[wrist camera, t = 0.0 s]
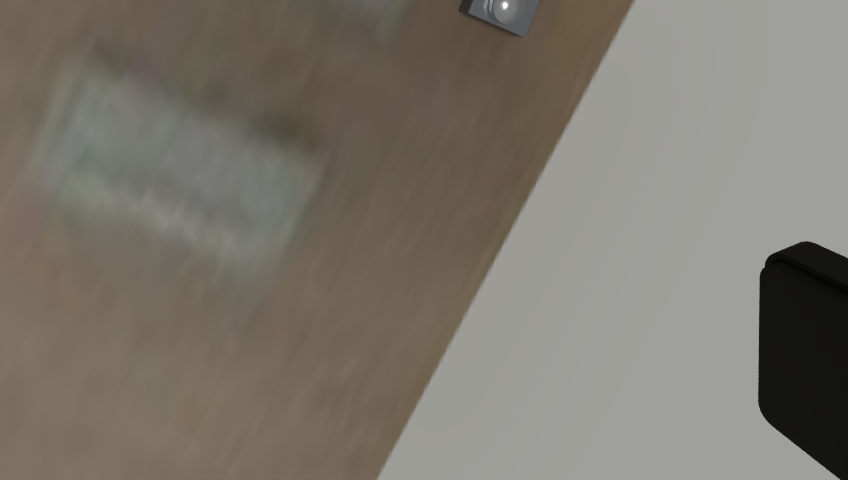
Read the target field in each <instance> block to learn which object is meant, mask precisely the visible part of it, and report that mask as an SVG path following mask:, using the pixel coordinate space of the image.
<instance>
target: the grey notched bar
mask: <svg viewBox="0 0 848 480" xmlns="http://www.w3.org/2000/svg"><path fill="white" fill-rule="evenodd" d="M539 1H540V0H463V1H462V4H461V6H460V9H459V11H460V12H463V13H465V14H467V15H470V16H472V17H474V18H476V19H479V20H481V21H483V22H486V23H488V24H490V25H493V26H495V27H497V28H499V29H502V30H504V31H506V32H509V33H511V34H513V35H517V36H521V37H525V36H526V34H527V31H528V29H529V26H530V24H531V21H532V19H533V16H534V14H535V11H536V9H537V6H538V4H539Z"/></svg>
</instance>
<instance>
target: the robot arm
mask: <svg viewBox="0 0 848 480" xmlns="http://www.w3.org/2000/svg"><path fill="white" fill-rule="evenodd" d="M759 301H760V302H759V306H760V307H759V310H760V311H759V383H758V384H759V386H758V387H759V388H758V402H759V407H760V410H761V412H762V414H763V416H764V418H765V419H766V420H767V421H768V422H769V423H770V424H771V425H772V426H773V427H774V428H775V429H777V430H778V431H779V432H780V433H782V434H783V435H784V436H786V437H787V438H788V439H789V440H791V441H792V442H793V443H794V444H796V445H797V446H798V447H800V448H801V449H802V450H803V451H805V452H806V453H807V454H808V455H810V456H811V457H812V458H813V459H815V460H816V461H818V462H819V463H820V464H821V465H822V466H824V467H825V468H826V469H827V470H829V471H830V472H831V473H833V474H834V475H835V476H836V477H838V478H839V479H840V480H848V258H846V257H844V256H842V255H840V254H837V253H835V252H833V251H831V250H829V249H826V248H824V247H822V246H820V245H818V244H815V243H812V242H808V241H807V242H800V243H798V244H795V245H793V246H790V247H788V248H786V249H783V250H781V251H779V252H776V253H774V254H772V255H770V256H769V257H768V258H767V260H766V262H765V268H763V269H762V271H761V273H760V300H759Z"/></svg>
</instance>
